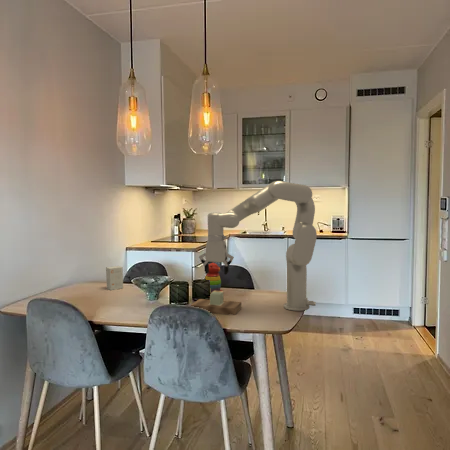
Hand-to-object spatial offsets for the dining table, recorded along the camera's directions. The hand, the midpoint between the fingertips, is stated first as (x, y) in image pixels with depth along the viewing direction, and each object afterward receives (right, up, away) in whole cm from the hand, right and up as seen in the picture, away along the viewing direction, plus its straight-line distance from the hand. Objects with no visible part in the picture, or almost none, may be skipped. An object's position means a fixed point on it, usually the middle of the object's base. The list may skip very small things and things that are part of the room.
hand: (216, 273), depth 195 cm
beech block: (0, -17, +13) cm, 21 cm away
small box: (-62, -15, +48) cm, 80 cm away
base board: (0, -18, +1) cm, 18 cm away
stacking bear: (-2, -16, +31) cm, 35 cm away
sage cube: (0, -15, +1) cm, 15 cm away
